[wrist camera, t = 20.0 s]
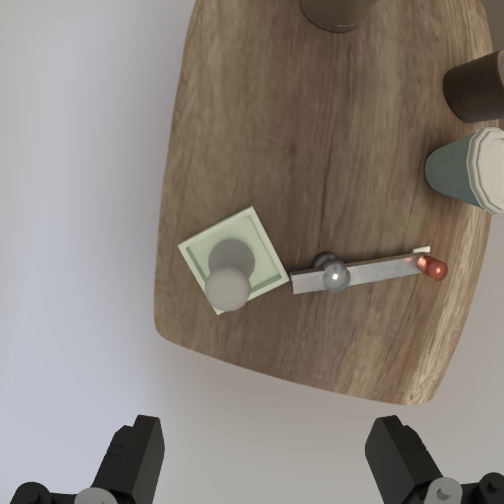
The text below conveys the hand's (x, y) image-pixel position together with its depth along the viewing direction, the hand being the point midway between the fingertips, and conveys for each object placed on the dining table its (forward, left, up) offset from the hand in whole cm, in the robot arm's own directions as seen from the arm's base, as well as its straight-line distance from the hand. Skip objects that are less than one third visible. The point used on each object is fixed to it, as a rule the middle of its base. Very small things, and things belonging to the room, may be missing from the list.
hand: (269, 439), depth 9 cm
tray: (0, -2, -32) cm, 32 cm away
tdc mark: (+12, +23, -32) cm, 41 cm away
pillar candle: (-7, +43, -32) cm, 54 cm away
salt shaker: (0, -3, -31) cm, 31 cm away
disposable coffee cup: (+2, +31, -32) cm, 45 cm away
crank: (+8, +12, -30) cm, 33 cm away
